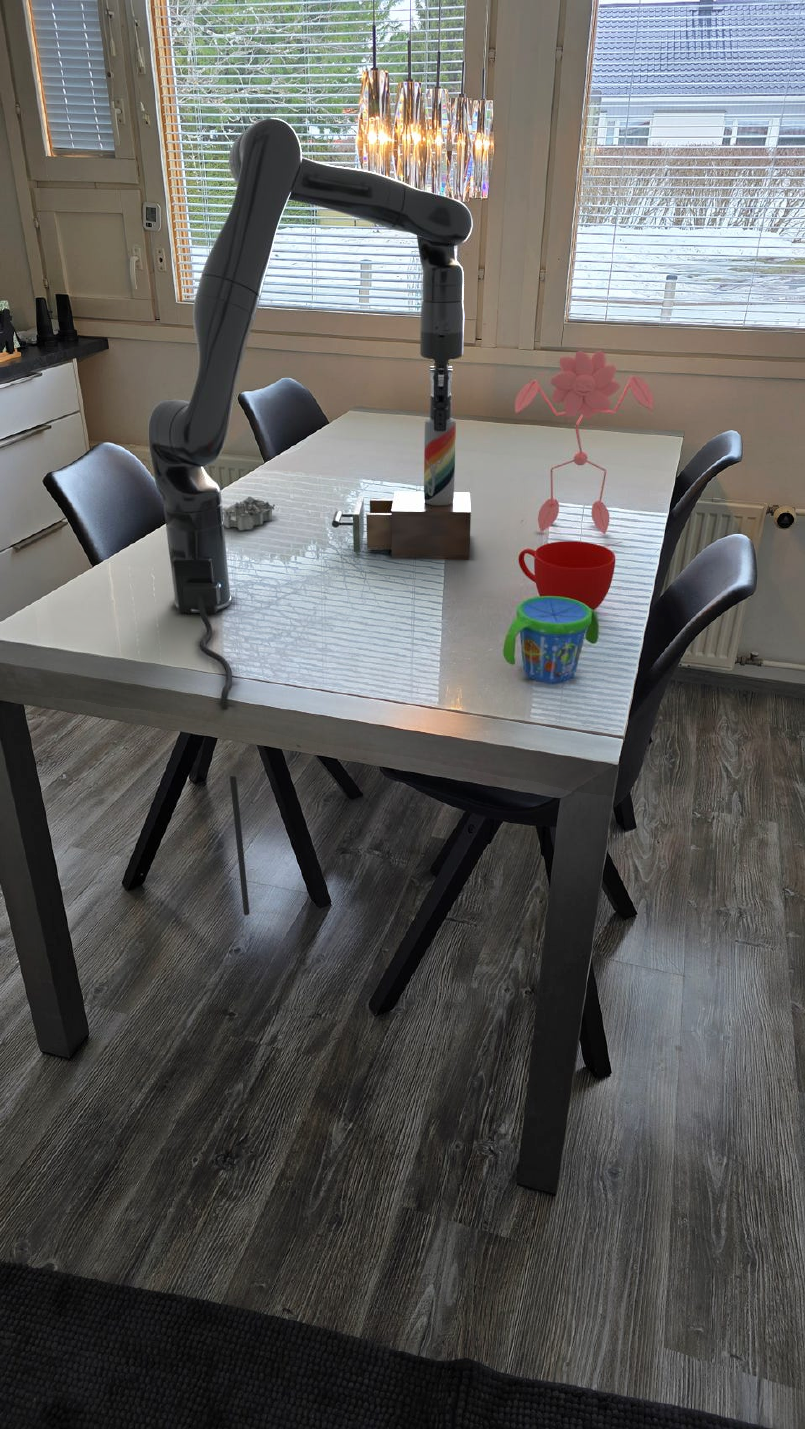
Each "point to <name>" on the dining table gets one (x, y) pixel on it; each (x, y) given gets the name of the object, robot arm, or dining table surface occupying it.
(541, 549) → the ceramic cup
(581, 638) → the snack cup
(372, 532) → the drawer
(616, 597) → the dining table surface
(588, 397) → the figurine
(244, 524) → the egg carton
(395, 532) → the cabinet
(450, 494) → the lotion bottle
